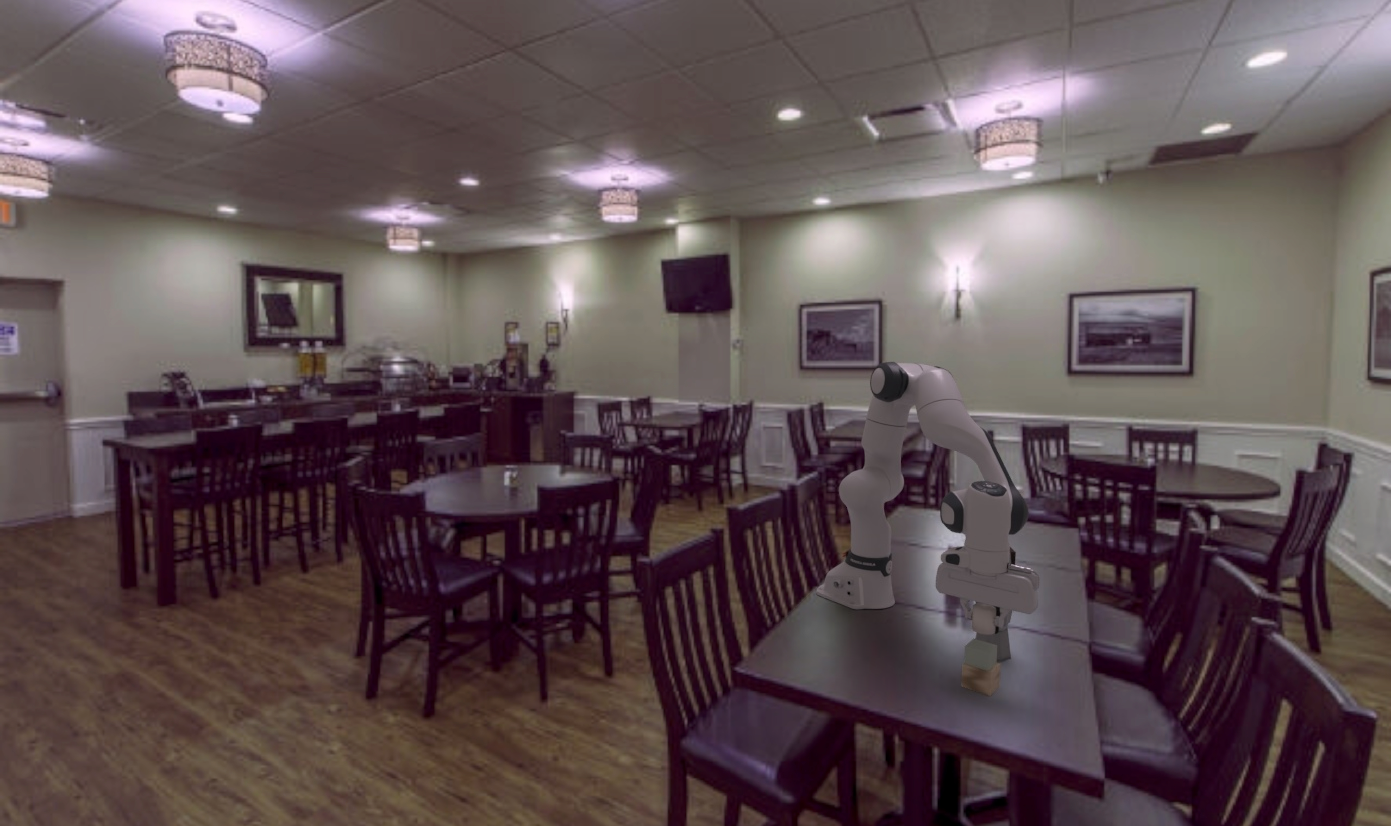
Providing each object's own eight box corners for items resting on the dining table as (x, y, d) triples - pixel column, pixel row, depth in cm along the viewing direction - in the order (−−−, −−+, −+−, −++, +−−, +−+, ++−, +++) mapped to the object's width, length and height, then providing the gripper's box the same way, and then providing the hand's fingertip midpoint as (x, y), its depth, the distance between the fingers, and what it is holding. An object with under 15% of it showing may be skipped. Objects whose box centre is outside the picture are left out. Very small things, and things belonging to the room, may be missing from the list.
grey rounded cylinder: (968, 630, 141) (969, 607, 140) (976, 623, 144) (977, 601, 144) (991, 636, 138) (992, 613, 137) (998, 629, 141) (999, 607, 141)
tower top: (964, 663, 142) (965, 645, 142) (972, 655, 146) (973, 638, 145) (988, 671, 139) (989, 653, 138) (996, 663, 142) (997, 645, 142)
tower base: (961, 686, 142) (962, 664, 142) (971, 676, 146) (972, 655, 146) (990, 696, 138) (991, 673, 138) (999, 685, 142) (1000, 663, 142)
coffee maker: (971, 638, 165) (974, 569, 164) (1010, 644, 162) (1013, 573, 160) (972, 665, 151) (976, 589, 150) (1015, 672, 148) (1019, 594, 147)
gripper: (1044, 566, 135) (1041, 631, 136) (944, 546, 149) (942, 606, 150) (1035, 573, 130) (1032, 641, 132) (933, 553, 144) (931, 614, 145)
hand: (983, 622), depth 141 cm, fingers closed on grey rounded cylinder, 5 cm apart
